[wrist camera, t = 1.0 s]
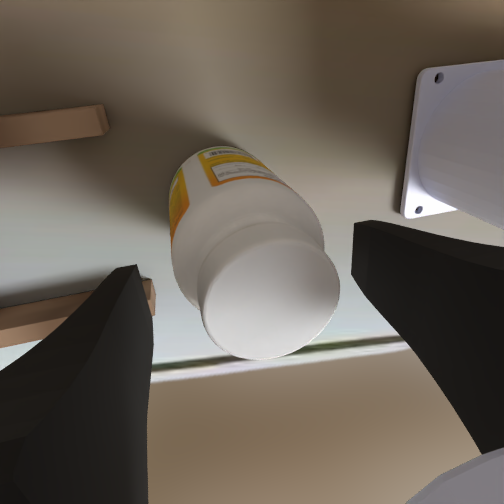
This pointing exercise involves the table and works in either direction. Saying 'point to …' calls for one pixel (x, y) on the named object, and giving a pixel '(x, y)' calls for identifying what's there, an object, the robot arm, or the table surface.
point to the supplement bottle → (249, 255)
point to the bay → (40, 131)
